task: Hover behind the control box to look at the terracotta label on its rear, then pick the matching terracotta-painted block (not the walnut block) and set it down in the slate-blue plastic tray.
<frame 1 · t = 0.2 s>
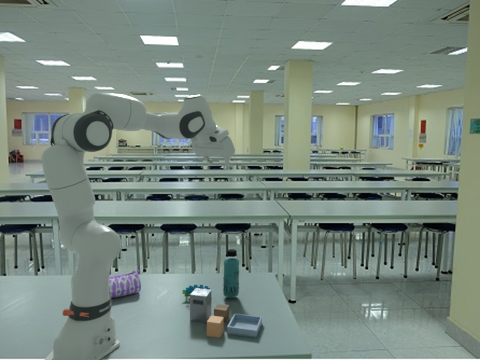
hand: (218, 164, 160), 54 cm above the table, tool tilted 30°, fingers open, 8 cm apart
control box: (200, 318, 143), on the table
beverage bottle: (230, 298, 161), on the table
pencil case: (114, 297, 161), on the table
walnut block: (221, 320, 142), on the table
tray: (245, 328, 136), on the table
gear: (196, 300, 159), on the table
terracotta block: (215, 333, 133), on the table
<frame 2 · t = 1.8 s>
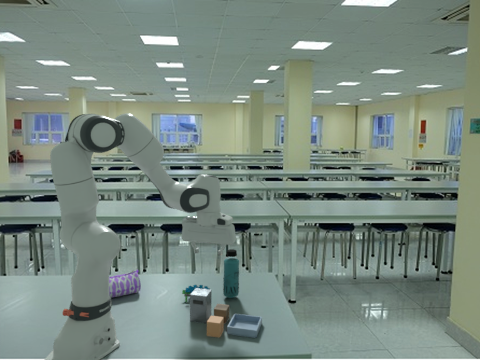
hand: (208, 254, 148), 21 cm above the table, tool pointing down, fingers open, 8 cm apart
nothing on the table moved.
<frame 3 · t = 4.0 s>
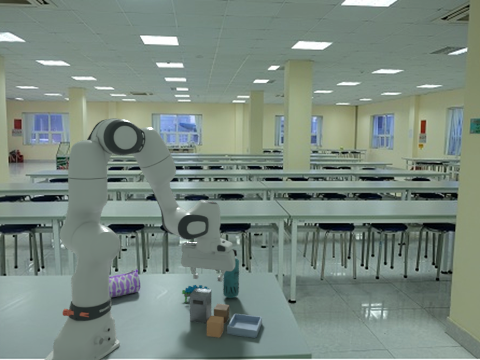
hand: (207, 279, 148), 12 cm above the table, tool pointing down, fingers open, 8 cm apart
nothing on the table moved.
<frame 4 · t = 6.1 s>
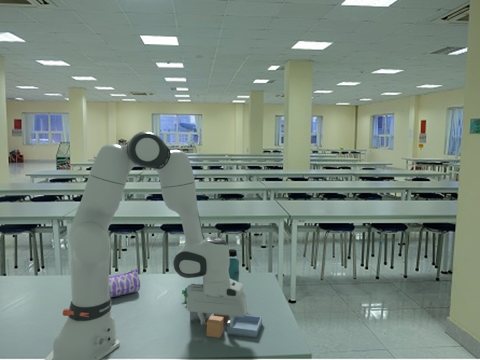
hand: (216, 325, 133), 3 cm above the table, tool pointing down, fingers open, 8 cm apart
nothing on the table moved.
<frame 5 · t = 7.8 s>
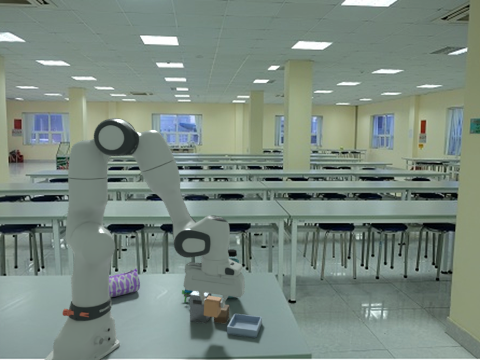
hand: (213, 305, 131), 10 cm above the table, tool pointing down, fingers closed on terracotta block, 4 cm apart
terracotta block: (212, 313, 131), point 7 cm above the table, touching gripper
everything else where it was.
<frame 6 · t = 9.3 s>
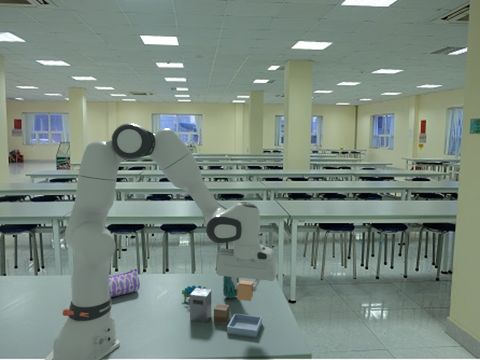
hand: (245, 289, 134), 14 cm above the table, tool pointing down, fingers closed on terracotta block, 4 cm apart
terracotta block: (245, 297, 134), point 11 cm above the table, touching gripper
when the fingers open (4 cm above the table, at t = 11.3 s): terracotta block stays where it is, resting on tray.
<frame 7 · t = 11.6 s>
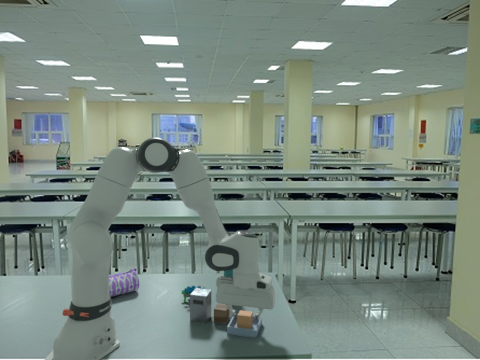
hand: (245, 317, 136), 4 cm above the table, tool pointing down, fingers open, 7 cm apart
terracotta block: (244, 327, 136), point 1 cm above the table, touching tray
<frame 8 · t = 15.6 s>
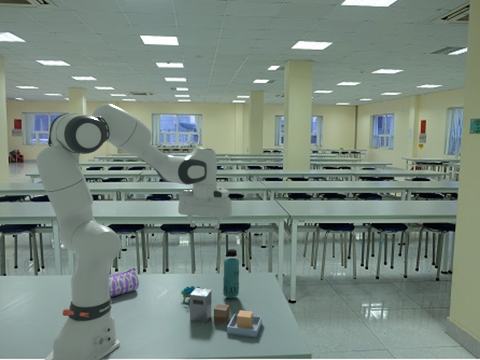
hand: (204, 227, 149), 31 cm above the table, tool pointing down, fingers open, 8 cm apart
at the end: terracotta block inside the target area on the tray (0.4 cm from its centre), point 0.6 cm above the tray's base; the gripper is holding nothing; walnut block moved 0.1 cm from its start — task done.
